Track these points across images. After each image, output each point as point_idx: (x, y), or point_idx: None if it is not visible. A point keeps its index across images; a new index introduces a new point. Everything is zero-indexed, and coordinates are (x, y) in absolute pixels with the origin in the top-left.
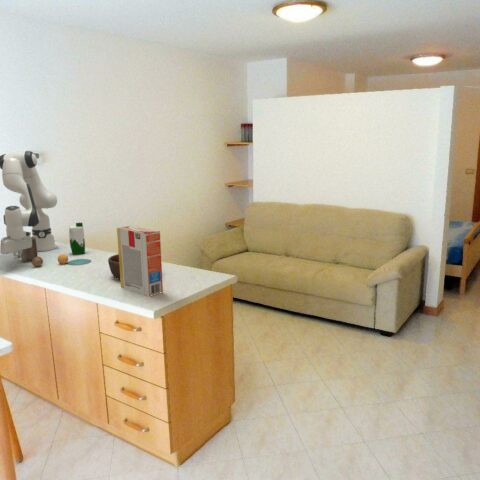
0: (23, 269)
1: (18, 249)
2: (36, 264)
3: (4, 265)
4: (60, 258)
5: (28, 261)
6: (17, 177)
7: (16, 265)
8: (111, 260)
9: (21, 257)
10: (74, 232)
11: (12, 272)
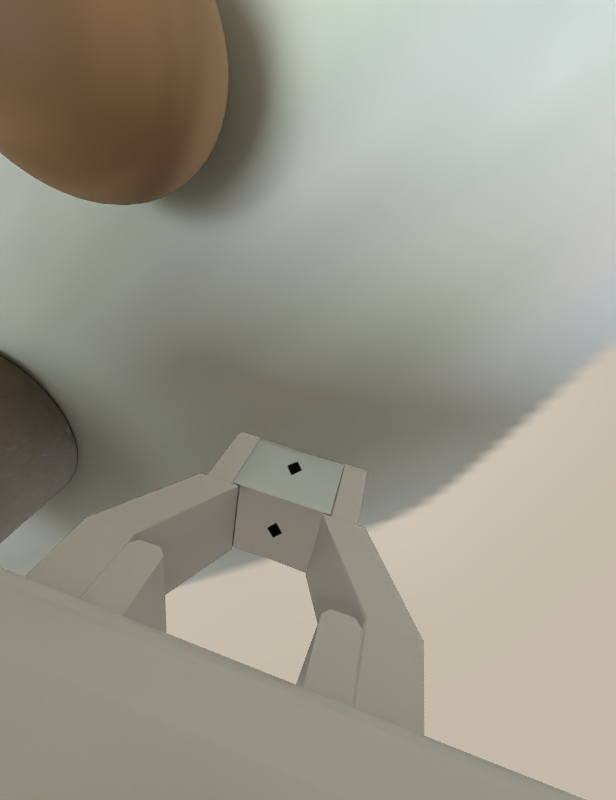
0: (385, 267)
1: (223, 766)
2: (215, 3)
3: (234, 569)
4: None
5: (45, 403)
6: None
7: (204, 468)
8: None
9: (33, 507)
10: None
11: (585, 357)
